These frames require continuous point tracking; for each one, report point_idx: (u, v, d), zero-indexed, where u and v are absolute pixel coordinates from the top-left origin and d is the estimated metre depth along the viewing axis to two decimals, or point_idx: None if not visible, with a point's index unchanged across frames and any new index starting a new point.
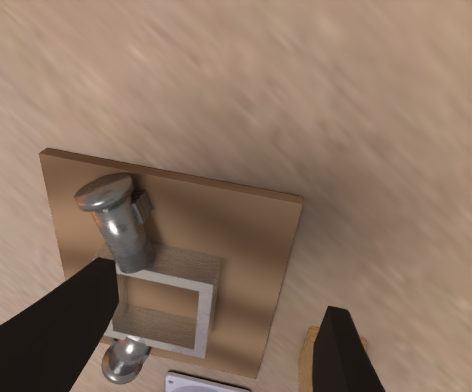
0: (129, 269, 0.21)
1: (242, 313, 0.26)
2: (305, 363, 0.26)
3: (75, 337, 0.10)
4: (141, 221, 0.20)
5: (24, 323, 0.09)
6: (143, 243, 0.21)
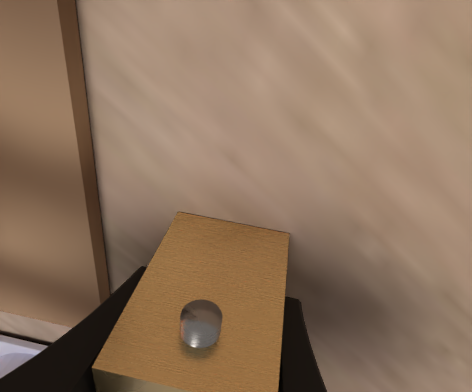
0: None
1: (23, 178, 0.12)
2: None
3: None
4: None
5: (83, 336, 0.09)
6: None
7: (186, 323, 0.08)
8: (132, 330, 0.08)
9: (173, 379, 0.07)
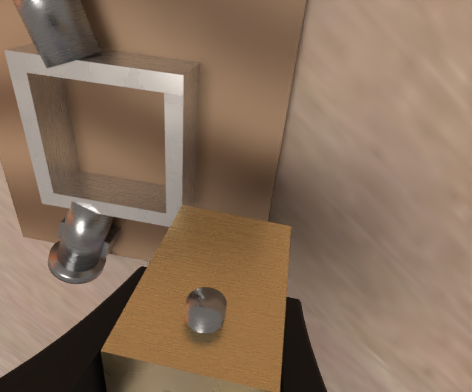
0: (56, 56, 0.14)
1: (234, 169, 0.18)
2: None
3: None
4: None
5: (83, 336, 0.09)
6: (76, 15, 0.14)
7: (192, 309, 0.08)
8: (139, 316, 0.09)
9: (179, 363, 0.08)
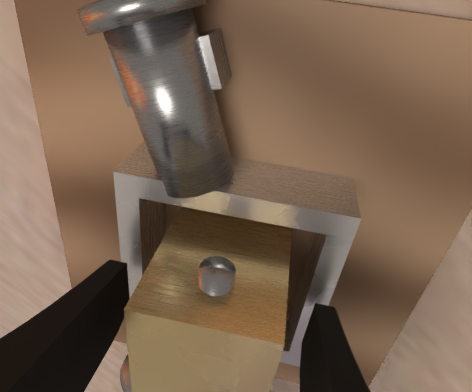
0: (189, 187, 0.10)
1: (366, 289, 0.15)
2: None
3: (88, 340, 0.10)
4: (217, 82, 0.10)
5: (40, 326, 0.09)
6: (218, 134, 0.10)
7: (204, 274, 0.09)
8: (156, 281, 0.10)
9: (194, 319, 0.09)
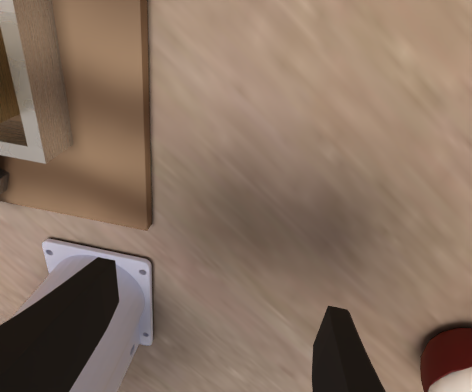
0: None
1: (103, 106, 0.18)
2: None
3: (75, 337, 0.10)
4: None
5: (25, 322, 0.09)
6: None
7: None
8: None
9: None
